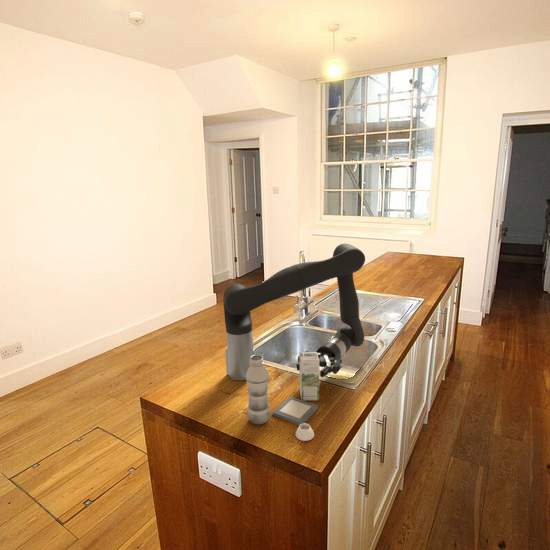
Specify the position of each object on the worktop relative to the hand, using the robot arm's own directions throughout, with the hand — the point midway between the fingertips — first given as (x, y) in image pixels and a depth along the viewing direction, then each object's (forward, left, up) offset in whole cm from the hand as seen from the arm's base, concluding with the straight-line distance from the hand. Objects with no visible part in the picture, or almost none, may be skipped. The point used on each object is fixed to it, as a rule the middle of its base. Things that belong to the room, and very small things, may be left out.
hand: (309, 371), depth 121 cm
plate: (0, -10, -9) cm, 13 cm away
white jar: (+8, -18, -9) cm, 22 cm away
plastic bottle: (-6, -19, -9) cm, 22 cm away
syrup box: (0, 0, -9) cm, 9 cm away
